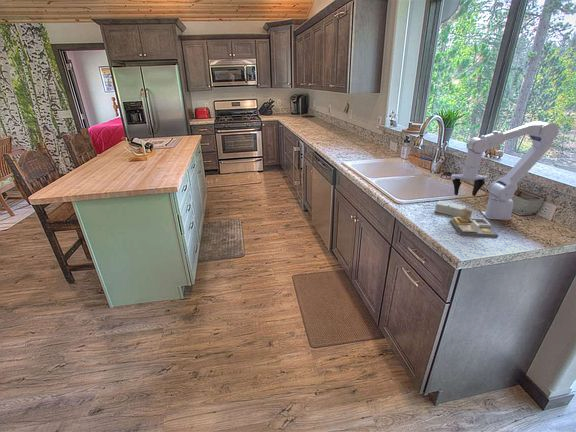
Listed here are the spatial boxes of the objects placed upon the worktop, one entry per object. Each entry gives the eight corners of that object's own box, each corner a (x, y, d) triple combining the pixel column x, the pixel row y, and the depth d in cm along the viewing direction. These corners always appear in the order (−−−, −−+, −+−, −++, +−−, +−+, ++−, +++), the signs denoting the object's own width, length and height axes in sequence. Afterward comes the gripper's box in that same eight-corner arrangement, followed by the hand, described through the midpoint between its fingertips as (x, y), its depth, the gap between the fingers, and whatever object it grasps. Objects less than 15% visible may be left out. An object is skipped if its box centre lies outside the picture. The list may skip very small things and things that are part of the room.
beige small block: (466, 221, 135) (469, 208, 132) (470, 224, 131) (474, 212, 129) (457, 220, 135) (460, 208, 133) (461, 224, 131) (464, 212, 129)
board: (483, 223, 135) (484, 218, 134) (497, 237, 123) (498, 231, 122) (449, 221, 137) (450, 216, 136) (460, 235, 125) (461, 230, 124)
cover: (473, 226, 129) (474, 220, 127) (477, 232, 124) (479, 225, 123) (457, 226, 130) (459, 219, 128) (462, 231, 125) (463, 224, 124)
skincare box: (439, 200, 150) (466, 205, 143) (437, 208, 152) (464, 213, 145) (435, 203, 146) (464, 209, 139) (434, 212, 148) (462, 218, 141)
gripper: (485, 164, 136) (478, 192, 142) (451, 163, 138) (445, 191, 144) (492, 168, 130) (484, 197, 135) (456, 167, 132) (450, 196, 137)
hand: (464, 194), depth 139 cm, fingers open, 7 cm apart
